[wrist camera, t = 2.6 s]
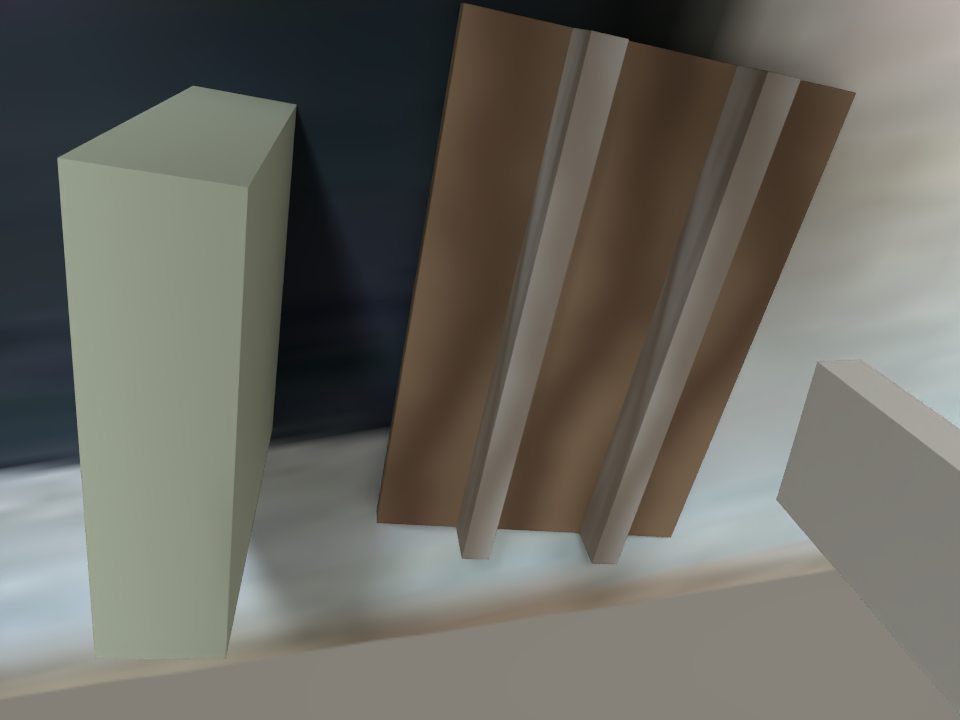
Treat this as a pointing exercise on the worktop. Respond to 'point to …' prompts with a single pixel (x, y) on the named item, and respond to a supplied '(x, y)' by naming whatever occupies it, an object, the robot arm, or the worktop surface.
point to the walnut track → (590, 277)
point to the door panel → (175, 358)
